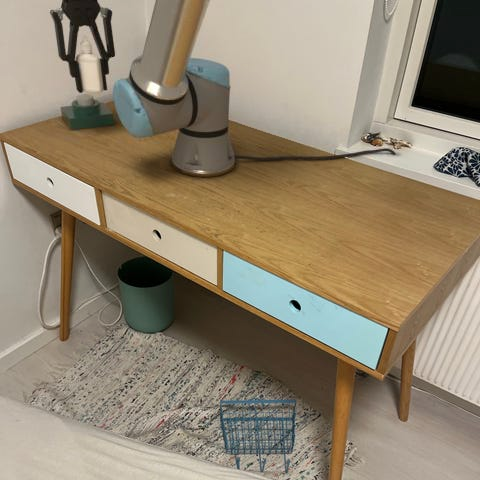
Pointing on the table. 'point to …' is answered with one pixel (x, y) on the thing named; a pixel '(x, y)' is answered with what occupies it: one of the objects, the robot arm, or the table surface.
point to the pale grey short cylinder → (85, 100)
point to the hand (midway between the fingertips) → (92, 89)
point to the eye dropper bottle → (89, 69)
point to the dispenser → (87, 115)
